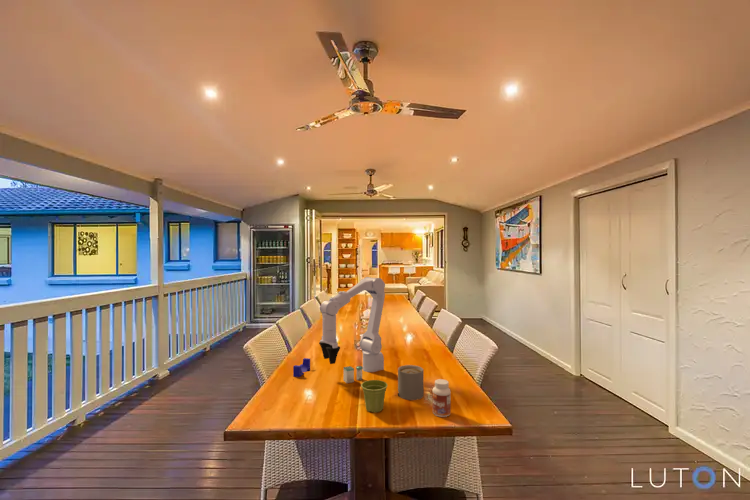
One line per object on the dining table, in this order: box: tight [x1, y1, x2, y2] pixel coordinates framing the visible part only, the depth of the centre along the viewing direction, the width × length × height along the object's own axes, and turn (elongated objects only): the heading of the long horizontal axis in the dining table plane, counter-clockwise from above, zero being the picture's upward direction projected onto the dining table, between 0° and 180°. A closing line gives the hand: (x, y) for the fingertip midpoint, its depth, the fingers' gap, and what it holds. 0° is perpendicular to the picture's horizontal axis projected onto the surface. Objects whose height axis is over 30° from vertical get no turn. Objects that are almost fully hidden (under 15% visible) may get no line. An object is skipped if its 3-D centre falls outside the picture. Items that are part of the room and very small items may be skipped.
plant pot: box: [360, 379, 388, 413], centre depth 123 cm, size 9×9×9 cm
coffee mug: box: [397, 364, 424, 401], centre depth 137 cm, size 13×10×10 cm
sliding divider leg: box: [343, 365, 355, 384], centre depth 145 cm, size 3×4×6 cm
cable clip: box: [292, 357, 311, 381], centre depth 157 cm, size 12×4×6 cm, turn 169°
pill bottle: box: [432, 378, 452, 418], centre depth 119 cm, size 6×6×11 cm
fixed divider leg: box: [355, 365, 363, 381], centre depth 148 cm, size 3×3×6 cm
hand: (329, 360), depth 146 cm, fingers open, 7 cm apart
